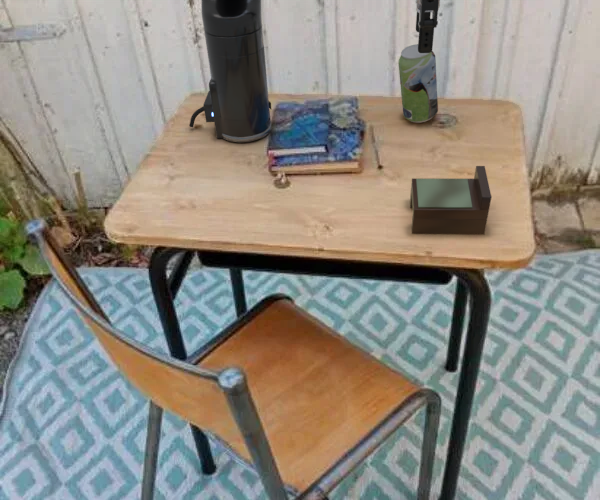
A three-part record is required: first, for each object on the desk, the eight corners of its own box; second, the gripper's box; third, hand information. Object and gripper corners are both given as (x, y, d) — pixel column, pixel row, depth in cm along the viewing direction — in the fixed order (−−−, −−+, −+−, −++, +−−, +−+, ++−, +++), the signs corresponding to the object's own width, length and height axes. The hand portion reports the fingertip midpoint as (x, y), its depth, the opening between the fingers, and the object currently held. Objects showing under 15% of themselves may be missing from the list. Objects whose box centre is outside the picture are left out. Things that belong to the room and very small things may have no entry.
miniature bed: (411, 234, 91) (415, 196, 86) (409, 202, 96) (413, 165, 92) (484, 234, 90) (491, 197, 86) (478, 202, 95) (484, 165, 91)
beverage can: (442, 122, 113) (451, 51, 104) (403, 130, 111) (408, 58, 103) (427, 107, 117) (434, 37, 108) (389, 114, 116) (393, 44, 107)
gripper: (404, -88, 98) (399, 26, 110) (407, -62, 88) (401, 60, 100) (455, -91, 97) (443, 24, 109) (463, -64, 88) (450, 59, 99)
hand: (423, 41), depth 105 cm, fingers open, 8 cm apart
